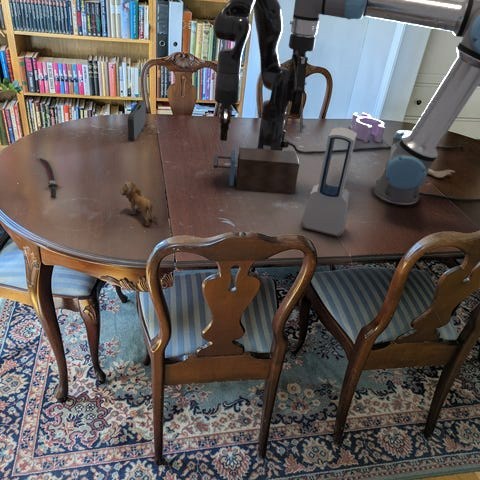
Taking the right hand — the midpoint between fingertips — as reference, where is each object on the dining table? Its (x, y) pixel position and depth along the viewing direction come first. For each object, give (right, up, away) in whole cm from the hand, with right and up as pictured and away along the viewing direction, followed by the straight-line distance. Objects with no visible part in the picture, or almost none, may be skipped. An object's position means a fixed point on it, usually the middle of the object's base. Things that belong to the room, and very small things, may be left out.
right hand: (291, 107), depth 147 cm
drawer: (-14, -22, +14) cm, 29 cm away
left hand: (-22, -9, +5) cm, 24 cm away
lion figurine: (-46, -35, -11) cm, 59 cm away
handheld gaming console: (-59, +3, +46) cm, 75 cm away
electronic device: (+8, -39, -7) cm, 40 cm away
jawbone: (+60, -13, +41) cm, 74 cm away
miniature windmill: (+8, +10, +67) cm, 69 cm away
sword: (-79, -22, +4) cm, 82 cm away
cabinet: (-8, -23, +15) cm, 28 cm away
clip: (+41, +7, +69) cm, 80 cm away
